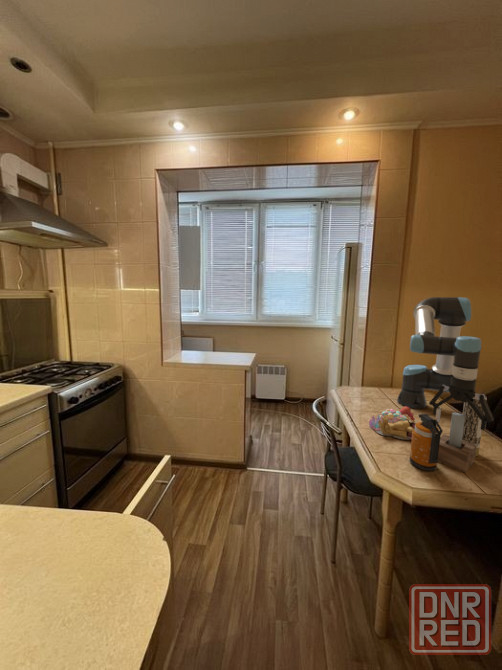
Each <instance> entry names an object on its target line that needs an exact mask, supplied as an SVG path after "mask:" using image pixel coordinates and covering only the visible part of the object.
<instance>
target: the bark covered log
mask: <svg viewBox="0 0 502 670" xmlns="http://www.w3.org/2000/svg"><path fill="white" fill-rule="evenodd" d="M473 399H474V401H475V403H476V404H477V405H478V407H479V408H480V409H481V411H482V412H483V413H484V411H483V408H482V406H481V404H480V400H478V399H477V397H474V398H473ZM485 400H486V401H487V396H486V395H485ZM461 414H462V415H464V416H465V419H464V427H463V435H462V440H463V441H466V442H469V443H472V444H474V445H477V446H476V453H475V458H476V457H478V456H479V453H480V447H481V440H482V432H483V431H482V432H481V436H480V437H479V438H476V436H477V429H478V422H479V420H480V418H479V417H478V415H477V414H476V413H475V411H474V410H473V409H472V407H471V406H470V405H469V404H468V403H467V402H463V409H462V413H461ZM484 415H485V413H484Z"/></svg>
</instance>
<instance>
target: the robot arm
mask: <svg viewBox="0 0 502 670" xmlns="http://www.w3.org/2000/svg"><path fill="white" fill-rule="evenodd" d="M412 316H413V319H414V320H415V324H414V325H415V334H412V335H411V336H410V340H409V341H410V342H409V350H410V352H412V353H417V354H427V355H428V354H430V355H436V360H435V364H433V365H432V366H431V369H430V368H428V367H427V365H423V364H409V365H406V366H405V367H403V372H402V382H401V390H400V392H399V394H398V396H397V401H396V402H397V403H398V404H400V405H401V406H403V407H405V406H406V407H409V408H410V409H417V410H418V409H420V410H422V409H426V408H427V403H428V404H429V405H430V406H432V407H433V415H434V416H435V419H436V420H437V422H438V424H440V422H441V413H442V412H441V411H442V407H441V406H442V405H443V404H446V402H448V401H450V400H452V399H453V400H455V401H459V402H461V403H464V402H467V403H468V404H469V405H470V406H471V407H472V409H473V410H474V411H475V413H476V414H477V415H478V417H479V418H480V420H479V422H478V429H477V436H476V438H479V437H480V436H481V437H482V434H481V432H483V431H485V430H486V428H487V423H492V422H493V421H494V419H495V417H494V416H493V414H492V412H491V410H490V407H489V404H488V402H487V400H485V396H486V394H485V393H478V392H477V393H476V386H477V378H478V370H479V364H480V363H479V362H480V355H481V350H482V339H481V338H479V337H476V336H469V335H467V336H466V335H462V336H461V335H460V334H461V329H462V327H464V326H466V323H467V322H470V321H471V318H472V304H471V301H470V299H469V298H467V297H459V296H458V297H457V296H456V297H455V296H453V297H451V296H450V297H449V296H444V297H443V296H441V297H440V296H439V297H438V296H432V297H428V298H427V297H426V299H422V300H421V301H419V302H418V303H417V304H416V305H415V307H414V308H413V312H412ZM434 320H438V322H437V323H438V324H439V325H440V332H439V336H436V330H435V321H434ZM425 390H431V391H437V393H436V394H435V395H434V396H433V397H432V399H430V401H429V402H428V401H427V399H426V395H425ZM444 393H450V395H448V396H446V397H445V398H443V399H442V400H440V401H438V402H437V400H439V399H440V398H441V396H442V395H443V394H444ZM474 397H477V399H478V400H480V404H481V406H482V408H483V411H484V413H485V414H484V413H483V412H482V411H481V409H480V408H479V407H478V405H477V404H476V403H475V401H474V399H473V398H474Z"/></svg>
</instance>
